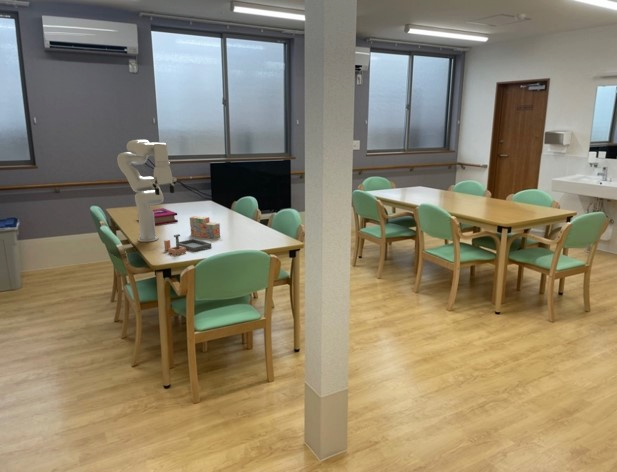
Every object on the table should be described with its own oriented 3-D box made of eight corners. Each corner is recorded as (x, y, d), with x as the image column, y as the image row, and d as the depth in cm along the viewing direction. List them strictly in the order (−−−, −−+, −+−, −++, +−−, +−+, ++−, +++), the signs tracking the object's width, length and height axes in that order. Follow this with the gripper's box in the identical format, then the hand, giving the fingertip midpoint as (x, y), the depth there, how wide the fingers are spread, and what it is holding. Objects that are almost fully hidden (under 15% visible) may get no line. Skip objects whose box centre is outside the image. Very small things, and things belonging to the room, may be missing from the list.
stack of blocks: (220, 237, 307) (219, 218, 304) (213, 239, 302) (212, 220, 299) (197, 233, 319) (196, 215, 316) (190, 234, 314) (189, 217, 311)
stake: (175, 253, 269) (173, 235, 266) (180, 252, 271) (178, 234, 269) (176, 254, 268) (175, 235, 265) (181, 252, 270) (180, 234, 268)
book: (151, 226, 342) (150, 216, 340) (138, 220, 363) (137, 210, 361) (178, 222, 355) (177, 212, 353) (164, 216, 376) (163, 207, 374)
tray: (176, 246, 284) (175, 242, 284) (193, 242, 293) (193, 238, 293) (194, 251, 272) (193, 247, 272) (211, 247, 282) (211, 243, 281)
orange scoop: (161, 250, 275) (160, 241, 274) (171, 248, 280) (171, 238, 279) (175, 255, 266) (174, 245, 264) (186, 252, 271) (185, 242, 269)
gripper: (171, 163, 280) (173, 191, 284) (145, 165, 268) (148, 195, 271) (178, 163, 276) (181, 192, 279) (152, 165, 263) (155, 196, 267)
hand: (164, 193), depth 275 cm, fingers open, 9 cm apart
